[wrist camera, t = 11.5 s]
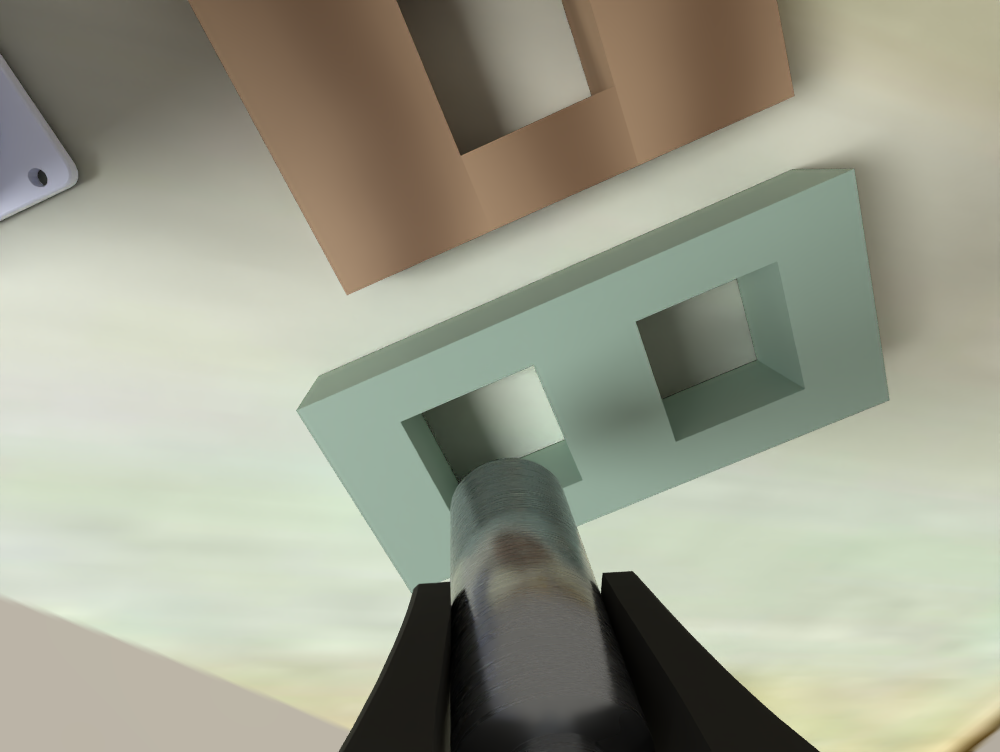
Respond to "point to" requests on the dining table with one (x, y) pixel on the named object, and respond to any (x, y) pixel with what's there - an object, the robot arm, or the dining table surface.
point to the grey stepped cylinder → (531, 625)
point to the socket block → (426, 135)
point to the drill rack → (622, 365)
